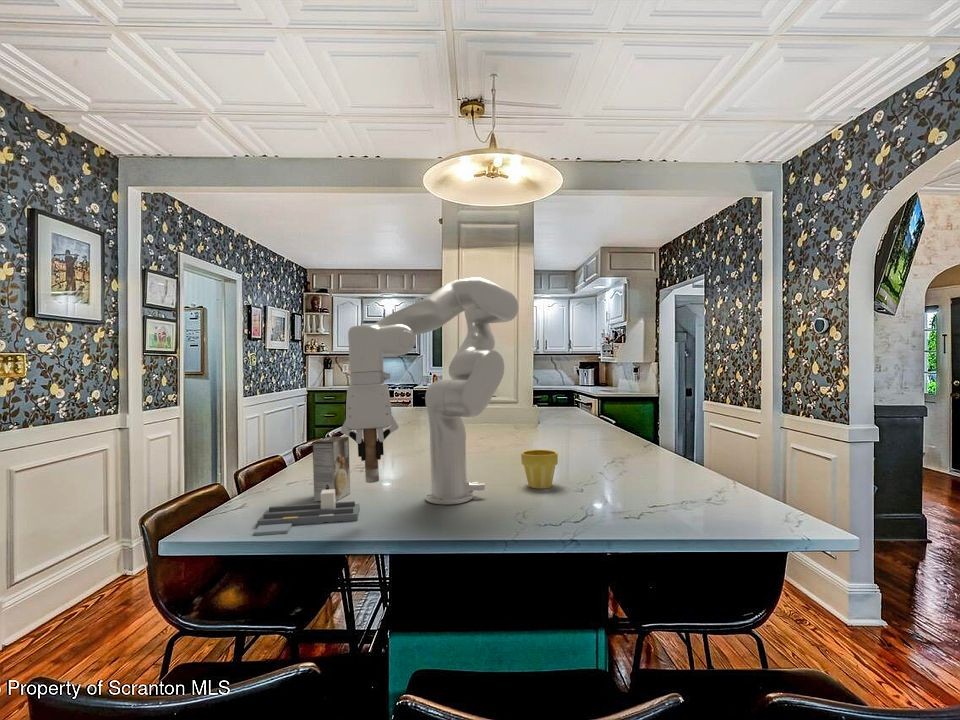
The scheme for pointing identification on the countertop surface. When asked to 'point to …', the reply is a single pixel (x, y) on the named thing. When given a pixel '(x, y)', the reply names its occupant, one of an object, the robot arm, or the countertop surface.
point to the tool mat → (272, 529)
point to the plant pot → (539, 467)
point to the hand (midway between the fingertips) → (371, 458)
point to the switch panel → (309, 514)
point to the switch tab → (328, 499)
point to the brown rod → (371, 455)
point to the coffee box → (331, 466)
